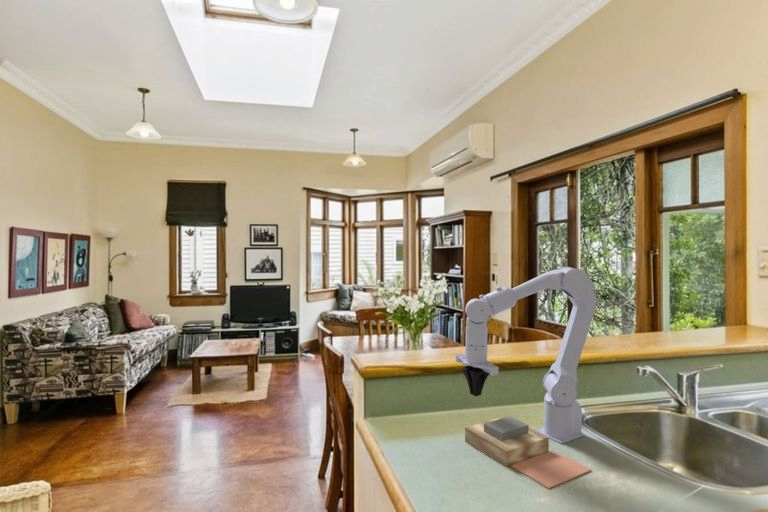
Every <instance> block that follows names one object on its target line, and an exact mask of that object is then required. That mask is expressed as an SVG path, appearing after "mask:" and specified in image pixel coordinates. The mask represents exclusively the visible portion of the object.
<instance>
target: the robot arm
mask: <svg viewBox="0 0 768 512" xmlns="http://www.w3.org/2000/svg"><path fill="white" fill-rule="evenodd" d="M593 282H594V281H593V279H592V278H590V276H589V274H587V272H585V271H584V270H583V269H580V268H574V267H572V266H571V267H570V266H560V267H558V268H557V269H556V268H555V269H552V270H549V271H547V272H544V273H541V274H540V275H538V276H536V277H533V278H532V279H531V278H530V280H527V281H526V282H523V283H521V284H519V285H517V286H515V287H513V288H511V287H508V286H503V287H501V286H500V285H499V286H497V287H495V290H493V291H491V292H489V293H487V294H484V295H483V294H479V296H478V297H479V298H472V299H470V300H469V301H468V302H467V303H466V305H465V307H464V311H465V314H466V316H467V317H466V321H465V325H466V326H465V348H464V349H465V350H464V351H465V352H464V353H465V354H463V353H458V354H456V355H455V362H456V363H461V364H462V365H463V366H464V367H462V369H461V371H462V373H463V375H464V376H465V379H466V381H467V384H468V389H469V394H470V395H473V396H474V397H478V396H479V397H480V396H481V395H482V392H483V388H484V386H485V383H486V381H487V378H488V377H489V376H490V375H491V376H492V377H493V376H498V375H499V371H500V370H499V369H500V367H499V366H497V365H495V364H493V363H492V362H490V361H489V360H488V336H489V335H488V329H489V328H488V319H489V318H490V316H495V315H498V314H500V313H502V312H505V311H507V310H510V309H512V308H514V307H515V306H516V304H517V301H518V300H521V299H523V298H526V297H528V296H531V295H534V294H537V293H539V292H542V291H544V290H556V291H562V292H563V293H564V294H565V295H566V297H568V299H569V301H570V303H572V308H571V312H570V315H569V318H568V321H567V325H566V328H565V330H564V333H563V336H562V341H561V344H560V347H559V349H558V352H557V353H558V354H557V357H556V359H555V362H553V363H552V364H551V366H550V369H549V370H548V372H547V373H546V374H545V375H544V377H543V379H542V386H543V388H544V389H545V391H546V394H545V395H544V399H543V427H542V428H539V429H536V430H535V431H537V432H539V433H541V434H543V435H545V436H547V437H549V440H552V441H554V442H556V443H558V444H565V443H568V442H570V441H574V440H577V439H579V438H581V437H585V433H583V431H582V426H583V425H582V424H583V423H582V422H583V419H582V418H583V409H582V406H581V405H580V403H579V401H577V400H576V399H577V398H578V392H577V384H578V373H577V369H578V365H579V363H580V359H581V357H582V353H583V349H584V346H585V343H586V341H587V340H586V339H588V338H587V337H588V334H589V331H590V329H591V325H592V321H593V319H594V315H595V312H596V309H597V300H596V299H597V298H596V295H595V290H594V288H593V284H594V283H593Z"/></svg>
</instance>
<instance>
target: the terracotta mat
mask: <svg viewBox="0 0 768 512" xmlns="http://www.w3.org/2000/svg"><path fill="white" fill-rule="evenodd" d="M510 466H511V467H512V468H513V469H515V470H516V471H518V472H520V473H521V474H523V475H525V476H526V477H528V478H529V479H531V480H533V481H535V482H537V483H538V484H539V485H542V486H543V487H544V488H546V489H548V490H549V489H552V488H555V487H557V486H559V485H562V484H563V483H564V484H565V483H566V482H569V481H571V480H573V479H575V478H578V477H580V476H583V475H585V474H587V473H590V472H592V469H591V468H589V467H587V466H585V465H583V464H581V463H579V462H578V461H575V460H574V459H572V458H569V457H567V456H565V455H563V454H562V453H559V452H557V451H556V450H550V451H549V452H546V453H543V454H540V455H538V456H535V457H532V458H529V459H527V460H524V461H521V462H518V463H516V464H513V465H510Z"/></svg>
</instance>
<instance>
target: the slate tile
mask: <svg viewBox="0 0 768 512" xmlns="http://www.w3.org/2000/svg"><path fill="white" fill-rule="evenodd" d="M490 421H491V420H490ZM528 428H530V427H529V424H527V423H525V422H524V421H523V422H522V421H521V420H519V419H517V418H515V417H512V416H511V415H509V416H506V418H502V419H499V420H495V421H491V422H488V423H484V432H485V433H487V434H489V435H491V436H493V437H495V438H496V439H498V440H500V441H505V440H508V439H511V438H514V437H518V436H521V435H524V434H527V433H528Z"/></svg>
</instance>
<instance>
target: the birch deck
mask: <svg viewBox="0 0 768 512" xmlns="http://www.w3.org/2000/svg"><path fill="white" fill-rule="evenodd" d="M506 417H507V416H502V417H499V418H494V419H492V420H487V421H485V422H480V423H476V424H473V425H469V426H465V428H464V441H465V442H466V443H467V444H469V445H470V446H471V447H474V448H475V449H477V450H478V451H481V452H482V453H484V454H486V455H487V456H488V457H490V458H492V459H493V460H495V461H497V462H498V463H499V464H502V465H503V466H504V467H510V466H511V465H514V464H516V463H519V462H522V461H525V460H527V459H530V458H533V457H536V456H539V455H541V454H544V453H547V452H550V451H549V450H550V449H549V447H550V445H549V442H550V438H549V437H547V436H545V435H543V434H541V433H539V432H537V431H536V430H534V429H533V428H530V427H529V428H528V433H527V434H524V435H521V436H518V437H514V438H511V439H508V440H505V441H500V440H498V439H496V438H495V437H493V436H491V435H489V434H487V433H485V432H484V423H488V422H491V421H495V420H499V419H502V418H506Z"/></svg>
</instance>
